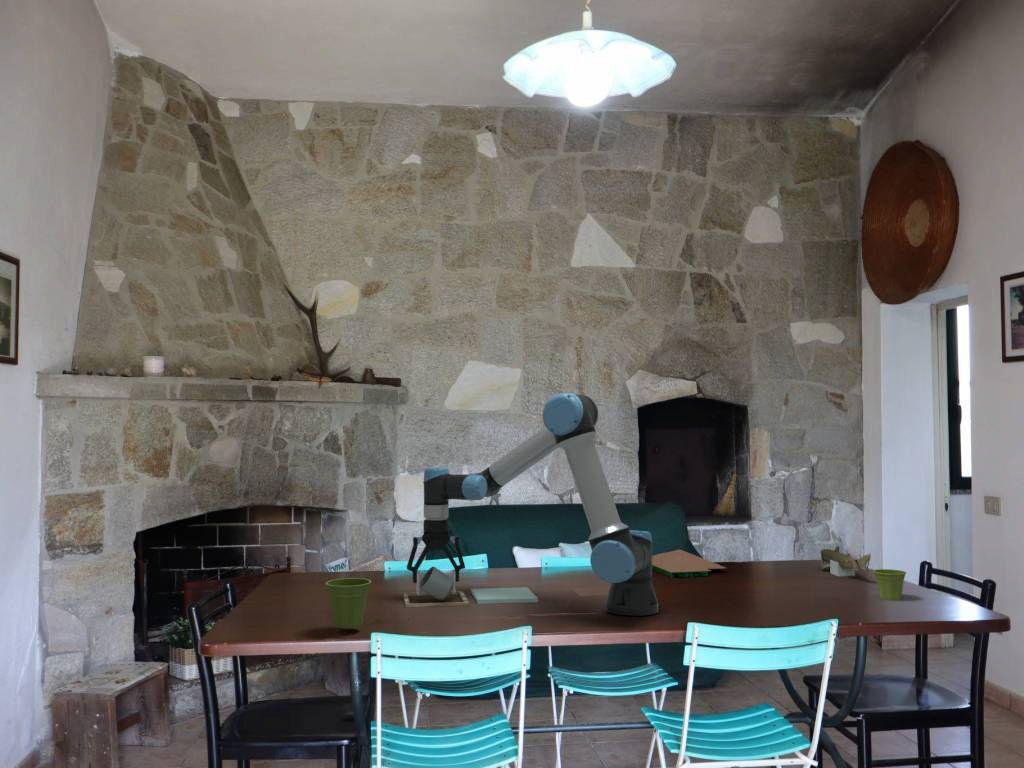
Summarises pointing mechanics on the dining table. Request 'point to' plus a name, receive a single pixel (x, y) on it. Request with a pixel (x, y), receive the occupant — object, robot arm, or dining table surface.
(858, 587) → the dining table surface
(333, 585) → the plant pot
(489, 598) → the sage board
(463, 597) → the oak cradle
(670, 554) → the tan flat piece
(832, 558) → the wood carving
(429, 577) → the ceramic mug
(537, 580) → the dining table surface
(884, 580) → the plant pot
